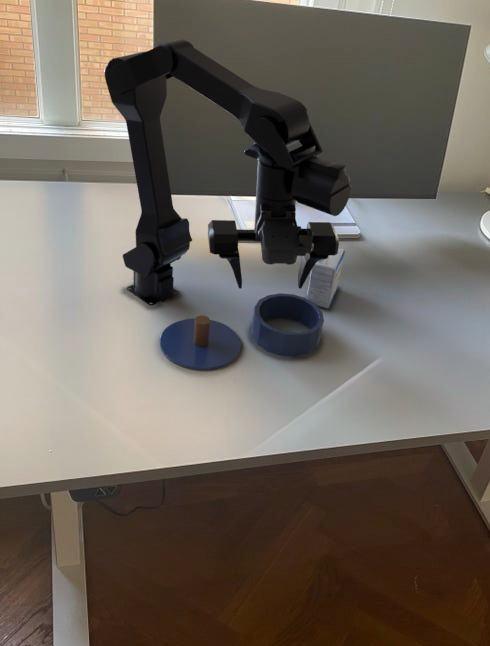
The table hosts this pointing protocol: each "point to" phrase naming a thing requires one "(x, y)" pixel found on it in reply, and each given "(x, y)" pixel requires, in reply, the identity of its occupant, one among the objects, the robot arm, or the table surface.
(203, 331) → the cover
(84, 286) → the table surface
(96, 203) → the table surface
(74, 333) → the table surface
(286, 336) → the dark blue round container
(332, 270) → the medicine box
